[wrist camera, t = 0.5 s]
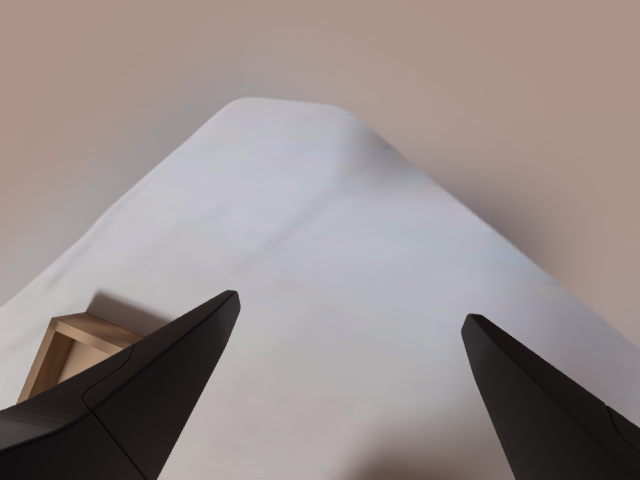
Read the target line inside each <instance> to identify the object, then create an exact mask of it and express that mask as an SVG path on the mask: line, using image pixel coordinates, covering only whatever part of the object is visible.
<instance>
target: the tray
mask: <svg viewBox="0 0 640 480" xmlns="http://www.w3.org/2000/svg"><path fill="white" fill-rule="evenodd" d="M142 338H144V337H142V336H140V335H137V334H135V333H132V332H130V331H128V330H125V329H123V328H121V327H118V326H116V325H113V324H111V323H109V322H106V321H104V320H102V319H99V318H97V317H94V316H92V315H90V314H87V313H85V312H84V313H78V314H72V315H66V316H60V317H54V318H52V319H51V321H50V323H49V326H48V328H47V331H46V333H45V336H44V338H43V340H42V343H41V345H40V348H39V350H38V352H37V355H36V357H35V360H34V362H33V365H32V367H31V369H30V372H29V374H28V377H27V379H26V381H25V384H24V386H23V389H22V391H21V394H20V396H19V398H18V401H17V403H16V404H18V403H20V402H22V401H25V400H27V399H29V398H31V397H33V396H35V395H37V394H39V393H40V392H42V391H44V390H46V389H48V388H50V387H52V386H54V385H56V384H58V383H60V382H62V381H64V380H66V379H68V378H70V377H72V376H74V375H76V374H78V373H80V372H82V371H84V370H86V369H88V368H90V367H92V366H93V365H95V364H97V363H99V362H101V361H103V360H105V359H107V358H108V357H110V356H112V355H114V354H116V353H117V352H119V351H121V350H123V349H125V348H126V347H128V346H130V345H132V344H133V343H137V341H139V340H140V339H142Z"/></svg>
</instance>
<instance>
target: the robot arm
mask: <svg viewBox="0 0 640 480" xmlns="http://www.w3.org/2000/svg"><path fill="white" fill-rule="evenodd" d="M240 308H241V306H240V300H239V295H238V292H237V291H234V290H226V291H224V292H223V293H221V294H219V295H217V296H216V297H214V298H212V299H210V300H209V301H207V302H205V303H203V304H202V305H200V306H198V307H196V308H195V309H193V310H191V311H189V312H188V313H186V314H184V315H182V316H181V317H179V318H177V319H175V320H174V321H172V322H170V323H168V324H167V325H165V326H163V327H161V328H160V329H158V330H156V331H154V332H153V333H151V334H149V335H147V336H146V337H144V338H142V339H140V340H139V341H137V343H133V344H132V345H130V346H128V347H126V348H125V349H123V350H121V351H119V352H117V353H116V354H114V355H112V356H110V357H108V358H107V359H105V360H103V361H101V362H99V363H97V364H95V365H93V366H92V367H90V368H88V369H86V370H84V371H82V372H80V373H78V374H76V375H74V376H72V377H70V378H68V379H66V380H64V381H62V382H60V383H58V384H56V385H54V386H52V387H50V388H48V389H46V390H44V391H42V392H40V393H39V394H37V395H35V396H33V397H31V398H29V399H27V400H25V401H22V402H20V403H18V404H16V405H14V406H11V407H9V408H6V409H3V410H1V411H0V480H157V478H158V476H159V474H160V473H161V471H162V469H163V467H164V465H165V463H166V461H167V459H168V457H169V455H170V453H171V451H172V449H173V447H174V446H175V444H176V442H177V440H178V438H179V436H180V434H181V432H182V430H183V428H184V426H185V424H186V422H187V420H188V419H189V417H190V415H191V413H192V411H193V409H194V407H195V405H196V403H197V401H198V399H199V397H200V395H201V393H202V392H203V390H204V388H205V386H206V384H207V382H208V380H209V378H210V376H211V374H212V372H213V370H214V368H215V367H216V365H217V363H218V361H219V359H220V357H221V355H222V353H223V351H224V349H225V347H226V345H227V342H228V340H229V338H230V335H231V333H232V330H233V327H234V325H235V322H236V320H237V317H238V315H239V312H240ZM461 335H462V339H463V342H464V345H465V349H466V352H467V356H468V359H469V363H470V366H471V369H472V373H473V376H474V378H475V381H476V384H477V386H478V389H479V391H480V394H481V396H482V399H483V401H484V403H485V406H486V408H487V411H488V413H489V416H490V418H491V421H492V423H493V425H494V428H495V430H496V433H497V435H498V438H499V440H500V443H501V445H502V448H503V450H504V452H505V455H506V457H507V460H508V462H509V465H510V467H511V470H512V472H513V475H514V477H515V479H516V480H640V428H639V427H637V426H636V425H635V424H633V423H632V422H630V421H629V420H628V419H626V418H625V417H623V416H622V415H621V414H619V413H618V412H616V411H615V410H614V409H612V408H611V407H609V406H606V405H605V403H604V402H602V401H601V400H600V399H598V398H597V397H595V396H594V395H593V394H591V393H590V392H588V391H587V390H586V389H584V388H583V387H581V386H580V385H579V384H577V383H576V382H575V381H573V380H572V379H570V378H569V377H568V376H566V375H565V374H563V373H562V372H561V371H559V370H558V369H556V368H555V367H554V366H552V365H551V364H549V363H548V362H547V361H545V360H544V359H542V358H541V357H540V356H538V355H537V354H536V353H534V352H533V351H531V350H530V349H529V348H527V347H526V346H524V345H523V344H522V343H520V342H519V341H517V340H516V339H515V338H513V337H512V336H510V335H509V334H508V333H506V332H505V331H503V330H502V329H501V328H499V327H498V326H496V325H495V324H494V323H492V322H491V321H490V320H488V319H487V318H485V317H484V316H482V315H480V314H468V315H467V317H466V319H465V322H464V324H463V327H462V330H461Z"/></svg>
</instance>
